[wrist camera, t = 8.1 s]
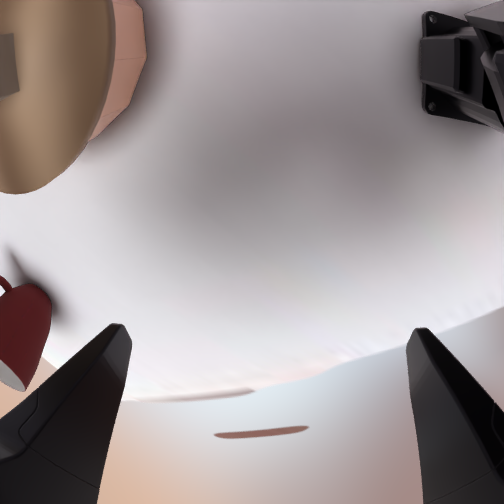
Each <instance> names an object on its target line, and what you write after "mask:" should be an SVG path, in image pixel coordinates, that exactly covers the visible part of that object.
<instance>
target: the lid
mask: <svg viewBox="0 0 504 504" xmlns="http://www.w3.org/2000/svg"><path fill="white" fill-rule="evenodd" d="M115 48H116V21H115V15H114V8H113V2H112V0H0V192H3V193H7V194H25V193H29V192H32V191H35V190H37V189H39V188H41V187H43V186H45V185H47V184H48V183H49V182H51V181H52V180H53V179H55V178H56V177H57V176H59V175H60V174H61V173H63V172H64V171H65V170H66V169H67V168H68V167H69V166H70V165H71V164H72V163H73V162H74V161H75V160H76V158H77V157H78V156H79V155H80V153H81V152H82V151H83V149H84V148H85V146H86V144H87V143H88V141H89V139H90V138H91V136H92V134H93V132H94V130H95V128H96V125H97V123H98V121H99V119H100V116H101V114H102V111H103V108H104V105H105V102H106V99H107V95H108V91H109V87H110V84H111V79H112V73H113V67H114V61H115Z"/></svg>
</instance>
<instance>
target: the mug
mask: <svg viewBox="0 0 504 504" xmlns="http://www.w3.org/2000/svg"><path fill="white" fill-rule="evenodd" d="M0 285H1V286H2V287H3V289H4V290H5V293H4V294H3V295H2V296H0V381H1V382H3V383H4V384H6V385H7V386H9V387H11V388H13V389H15V390H18V391H22V392H23V391H26V389H27V387H28V385H29V384H30V382H31V380H32V378H33V376H34V374H35V372H36V369H37V366H38V364H39V361H40V358H41V355H42V352H43V349H44V346H45V343H46V340H47V337H48V334H49V331H50V325H51V310H52V305H51V301H50V299H49V297H48V296H47V295H46V293H45V292H44V291H43V290H42V289H40V288H39V287H38V286H36V285H34V284H25V285H21V286H18V287H15V288H12V287H11V285H10V284H9V283H8V281H7V280H6V279H5V278H3V277H2V276H0Z"/></svg>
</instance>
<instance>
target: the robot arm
mask: <svg viewBox="0 0 504 504" xmlns="http://www.w3.org/2000/svg"><path fill="white" fill-rule="evenodd" d="M464 15H465V17H466V19H467V21H468V22H466V21H463V20H460V19H457V18H454V17H451V16H447V15H444V14H441V13H437V12H433V11H428V12H425V13H424V14H423V38H422V39H421V76H420V78H421V80H422V82H423V98H422V108H423V110H424V111H425V112H426V113H428V114H431V115H436V116H442V117H448V118H453V119H458V120H463V121H468V122H473V123H478V124H482V125H486V126H490V127H492V128H494V129H496V130H498V131H500V132H502V133H504V0H502V1H499V2H496V3H493V4H490V5H487V6H485V7H482V8H479V9H476V10H474V11H471V12H468V13H466V14H464ZM429 16H432V17H433V19H434V22H431V21H430V19H429ZM430 103H432V104H433V108H432V109H429V107H428V106H429V104H430ZM131 350H132V340H131V338H130V336H129V334H128V332H127V330H126V328H125V326H124V325H123V324H117V323H112V324H110V325H109V326H107V327H106V328H105V329H104V330H103V331H102V332H100V333H99V334H98V335H97V336H96V337H95V338H93V339H92V340H91V341H90V342H89V343H88V344H87V345H85V346H84V347H83V348H82V349H81V350H80V351H78V352H77V353H76V354H75V355H74V356H73V357H72V358H70V359H69V360H68V361H67V362H66V363H65V364H64V365H63V366H61V367H60V368H59V369H58V370H57V371H56V372H55V373H54V374H52V375H51V376H50V377H49V378H48V379H47V380H46V381H45V382H44V383H42V384H41V385H40V386H39V388H37V389H36V390H35V391H34V392H32V393H31V394H30V395H29V396H28V397H27V398H26V399H25V400H23V401H22V402H21V403H20V404H19V405H17V406H16V407H15V408H14V409H12V410H11V411H10V412H8V413H7V414H6V415H5V416H3V417H2V418H1V419H0V504H97V500H98V495H99V488H100V484H101V479H102V474H103V469H104V465H105V461H106V457H107V452H108V448H109V444H110V440H111V436H112V432H113V428H114V424H115V420H116V416H117V413H118V409H119V405H120V402H121V398H122V395H123V391H124V387H125V382H126V377H127V371H128V366H129V360H130V355H131ZM406 355H407V365H408V375H409V388H410V397H411V403H412V409H413V414H414V421H415V427H416V434H417V441H418V449H419V457H420V466H421V476H422V489H423V504H504V412H503V411H502V409H501V408H500V407H499V406H498V405H497V403H494V400H493V399H492V398H491V397H490V395H489V394H488V393H487V392H486V391H485V390H484V388H483V387H482V386H481V385H480V384H479V383H478V382H477V381H476V380H475V378H474V377H473V376H472V375H471V374H470V373H469V372H468V370H467V369H466V368H465V367H464V366H463V365H462V364H461V363H460V362H459V361H458V360H457V359H456V357H454V355H453V354H452V353H451V352H450V351H449V350H448V349H447V348H446V347H445V346H444V345H443V344H442V342H440V340H439V339H438V338H437V337H436V336H435V335H434V334H433V333H432V332H431V331H430V330H429V329H428V328H425V327H423V328H415V329H414V330H413V332H412V335H411V337H410V339H409V341H408V343H407V347H406Z"/></svg>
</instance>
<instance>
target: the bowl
mask: <svg viewBox="0 0 504 504" xmlns="http://www.w3.org/2000/svg"><path fill="white" fill-rule="evenodd" d="M112 2H113V8H114V15H115V21H116V48H115V61H114V67H113V73H112V79H111V84H110V87H109V91H108V95H107V99H106V102H105V105H104V108H103V111H102V114H101V116H100V119H99V121H98V123H97V125H96V128H95V130H94V132H93V134H92V136H91V138H90V139H89V141H90V140H91V139H93V138H95V137H97V136H98V135H99V134H100V133H101V132H102V131H103V130H104V129H105V128H106V127H107V126H108V125H109V124H110V123H111V122H112V121H113V120H114V119H115V118H116V117H117V116H118V115H119V114H120V113H121V112H122V111H123V110H124V109H126V108H127V107H128V106H129V104H130V101H131V98H132V95H133V92H134V90H135V87H136V84H137V82H138V79H139V76H140V74H141V71H142V69H143V66H144V64H145V61H146V59H147V53H146V44H145V34H144V23H143V11H142V8H141V7H140V6H139V5H138V4H137V3H136V1H135V0H112Z"/></svg>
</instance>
